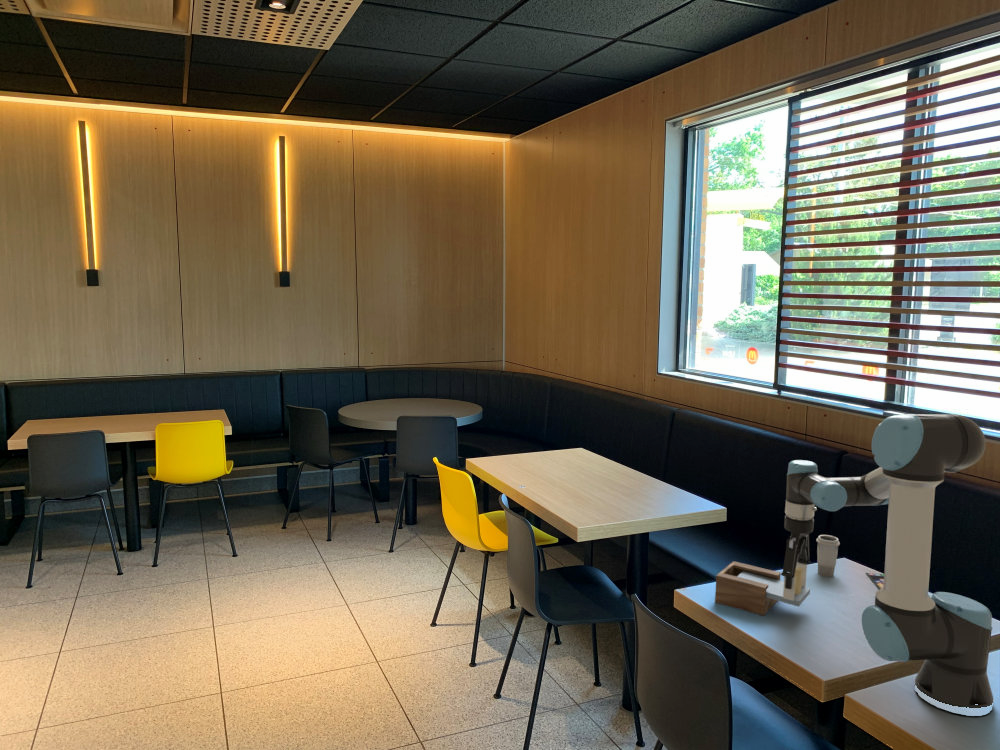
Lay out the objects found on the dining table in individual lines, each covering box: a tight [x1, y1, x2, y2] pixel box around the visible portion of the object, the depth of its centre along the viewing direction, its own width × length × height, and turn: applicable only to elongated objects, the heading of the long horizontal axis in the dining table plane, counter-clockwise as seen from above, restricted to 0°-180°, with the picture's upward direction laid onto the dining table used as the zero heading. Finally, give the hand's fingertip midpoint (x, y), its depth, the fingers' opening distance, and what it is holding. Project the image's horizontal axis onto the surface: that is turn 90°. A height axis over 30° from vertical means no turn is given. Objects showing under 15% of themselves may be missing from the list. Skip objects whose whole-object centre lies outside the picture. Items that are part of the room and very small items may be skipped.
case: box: [714, 561, 782, 617], centre depth 217 cm, size 14×14×8 cm
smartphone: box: [865, 572, 884, 590], centre depth 231 cm, size 8×15×1 cm, turn 171°
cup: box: [815, 534, 841, 578], centre depth 237 cm, size 7×7×12 cm
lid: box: [737, 567, 811, 607], centre depth 212 cm, size 11×19×8 cm, turn 53°
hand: (794, 592), depth 208 cm, fingers closed on lid, 11 cm apart
